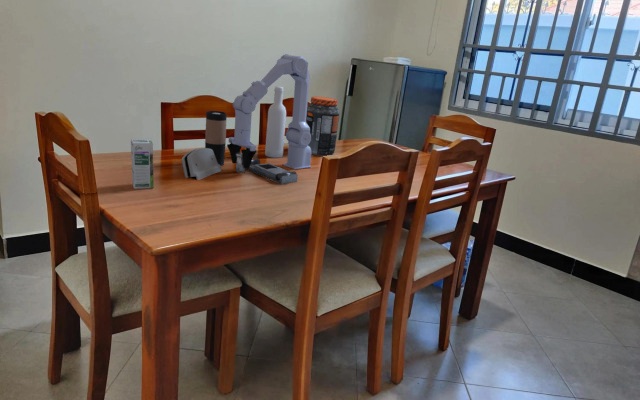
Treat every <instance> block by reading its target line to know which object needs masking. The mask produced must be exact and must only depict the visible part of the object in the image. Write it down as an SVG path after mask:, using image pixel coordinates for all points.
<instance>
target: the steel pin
mask: <svg viewBox="0 0 640 400" xmlns="http://www.w3.org/2000/svg"><path fill="white" fill-rule="evenodd" d="M236 156H237V162H236V163H235V164H236V165H235V172H236V173H239V174H244V173H245V170H246V169H245V168H244V167H243V155H242V152H241V151H240V152H238V153H236Z"/></svg>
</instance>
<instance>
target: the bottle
mask: <svg viewBox="0 0 640 400" xmlns="http://www.w3.org/2000/svg"><path fill="white" fill-rule="evenodd" d="M273 91H274V94H273V95H274V97H273V98H274V99H273V103H272V104H271V105H270V106H269V108H268V111H267V123H266V124H267V125H266V135H265V136H266V138H265V149H264V152H265V153H264V156H265V157H268V158H275V159H279V158H283V156H284V155H283V154H284V143H285V135H286V122H287V121H286V119H287V108H286V106H285V105H284V104H283V97H284V92H285V91H284V86H274V90H273Z"/></svg>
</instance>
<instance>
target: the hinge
mask: <svg viewBox="0 0 640 400" xmlns="http://www.w3.org/2000/svg"><path fill="white" fill-rule="evenodd" d="M181 163H182V168H183V173H184V177H185V178H186V179H188V178H192V177H193V178H194V177H195V178H196V181H199V180H202V179H205V178H208V177H209V176H212V175H214V174H216V173H217V174H218V173H219V172H222V171H223V168H222V166H220V165H219V164H218V163H217V160H216V157H215V155H214V152H213V150H212V149H209V148H205V147H200V148H194V149H192V150H190V151H188V152H187V153H185V154H184V155H183V156H182V158H181Z"/></svg>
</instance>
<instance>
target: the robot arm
mask: <svg viewBox="0 0 640 400" xmlns="http://www.w3.org/2000/svg"><path fill="white" fill-rule="evenodd" d="M284 75H285V76H286V75H289V76H290V77H291V78H292V79H293V80H294V91H293V92H294V93H293V95H294V96H293V103H292V105H293V107H292V108H293V109H292V119H291V122H289V123H288V126H287V130H286V131H285V138H286V139H285V140H286V141H287V144H288V148H287V149H288V150H287V157H286V158H287V160H286V161H287V162H285V163H282V166H285V167H287V168H289V169H292V170H300V169H308V168H312V165H311V159H312V154H311V148H310V147H309V146H308V144H309V143H310V141H311V135H310V127H309V126H308V125H307V123H306V115H307V107H308V100H309V88H310V79H311V78H310V73H309V62H308V61H307V60H306V59H305V57H304V56H301V55H291V54H283V55H282V56H281V57H280V58H278V59H277V60H276V62H275V65H274V66H273V67H272V68H271V69H270V70H269V71H268V73H267V74H266V75H265V76H264V77H263V78H262V79H261V80H256V81H252V83H250V84H251V85H250V86H249V87H248V88H247V89H246V90H244V91H243V92H242V94H240V95H237V96H236V97H235V99H234V101H233V102H232V107H233V109H234V114H235V116H234V120H235V121H234V136H231V137H228V143H229V144H226V147H227V149H228V150H229V154H230V158H231V163H232V164H236V162H237V156H236V153H238V152H242V155H243V167H244V168H245V170H247V169H246V168H249V167H250V164H251V161H252V159H254V157H255V155H256V154H257V145H256V144H253V143H252V142H251V130H252V129H251V128H252V127H251V126H252V116H253V115H252V114H253V113H252V112H254V111H255V109H256V105H257V104H258V103H259V102H260V101H261V100H262V99H263V97H264V96H266V95H267V94H268V89H269V88H270V87H271V86H272V85H273V84H274V83H275V82H276V81H277V80H278V79H280V78H281V77H282V76H284ZM242 148H244V149H242Z"/></svg>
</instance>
